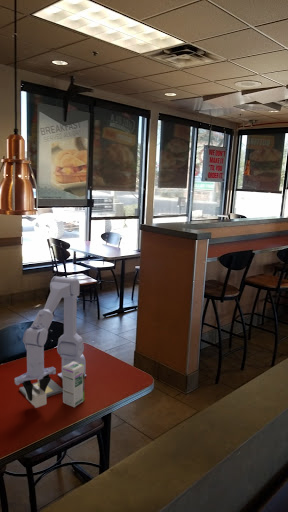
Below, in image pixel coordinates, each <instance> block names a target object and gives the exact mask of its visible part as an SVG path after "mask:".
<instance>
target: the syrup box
mask: <svg viewBox="0 0 288 512" xmlns="http://www.w3.org/2000/svg"><path fill="white" fill-rule="evenodd" d="M61 373H62V374H63V379H62V389H63V392H62V402H63V403H64V405H65V404H66V405H67V406H70V407H73V408H76V407H77V406H79V405H80V404H81V403H84V401H85V377H84V365H83V364H81V363H78V362H74V361H73V362H71V363H69V364H67V365H65V366H63V367H62V366H61Z"/></svg>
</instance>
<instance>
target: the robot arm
mask: <svg viewBox="0 0 288 512" xmlns="http://www.w3.org/2000/svg"><path fill="white" fill-rule="evenodd" d="M49 290H50V292H49V295H48V297H47V300H46V303H45V304H44V307H43V309H40V310H39V311H38V312H37V314H36V316H35V318H34V319H33V322H32V323H31V325H30V327H28V328H27V329H26V330H25V331H24V332H23V336H22V337H23V338H22V342H23V343H24V348H25V350H26V372H25V373H22V374H20V375H19V376H17V377H14V384H15V385H16V386H19V385H20V384H22V387H24V388H25V390H26V393H27V397H28V399H29V400H30V401H31V400H32V389H33V384H34V383H32V381H34V380H37V381H38V380H39V383H40V388H41V389H42V390H43V391H44V392H45V391H46V388H47V385H48V383H49V382H50V380H51V377H50V375H56V374H57V376H58V377H60V378H61V380H63V374H62V372H60V373H57V372H56V371H57V368H56V367H54V366H51V367H45V360H44V359H45V350H44V349H45V347H44V346H45V344H46V342H47V340H48V334H49V328H50V326H51V324H52V322H53V319H54V314H53V313H54V312H55V310H56V309H57V306H58V305H59V303H60V302H61V300H62V299H63V334H62V335H60V337H58V341H57V347H56V350H57V354H58V355H59V357H60V358H61V368H62V367H63V366H65V365H67V364H69V363H71V362H73V361H74V362H78V363H81V364H83V365H84V378H85V377H87V373H86V365H87V364H86V363H87V362H86V357H85V355H84V351H85V345H84V341H83V339H84V338H83V337H82V336H81V335H80V334H78V333H77V313H78V312H77V307H78V305H77V302H78V301H77V298H78V297H79V296H80V281H79V279H78V278H77V277H73V278H72V277H67V276H66V277H65V276H58V275H55V276H53V277H52V278H51V280H50V283H49ZM28 399H27V400H28ZM29 400H28V401H29ZM30 401H29V402H30Z"/></svg>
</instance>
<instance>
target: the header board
mask: <svg viewBox="0 0 288 512" xmlns="http://www.w3.org/2000/svg"><path fill="white" fill-rule="evenodd" d="M32 384H33V385H38V386H39V387H40V383H39V380H37V382H33V383H32ZM19 391H20V392H21V393H22V395H24V397H26V390H25V388H24V386H20V387H19ZM45 393H46V398H49V397H53V396H56V395H58V394H60V393H61V394H62V393H63V387H61V386H60V385H59V384H57V382H55V381H54V380H53V379H51V380H50V382H49V383H48V385H47V388H46V391H45Z"/></svg>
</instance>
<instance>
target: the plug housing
mask: <svg viewBox="0 0 288 512" xmlns="http://www.w3.org/2000/svg"><path fill="white" fill-rule="evenodd" d="M25 398H26V400H28V402H29V403H30V404H31V405H32V406H34V408H35V409H36V408H40V407H44V406H45V405H47V397H46V393H45V392H44V391H43V390H42V389H41V388H40V387H39V386H38V385H33V389H32V400H31V401H30V400H29V399H28V397H27V393H26V396H25Z"/></svg>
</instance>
